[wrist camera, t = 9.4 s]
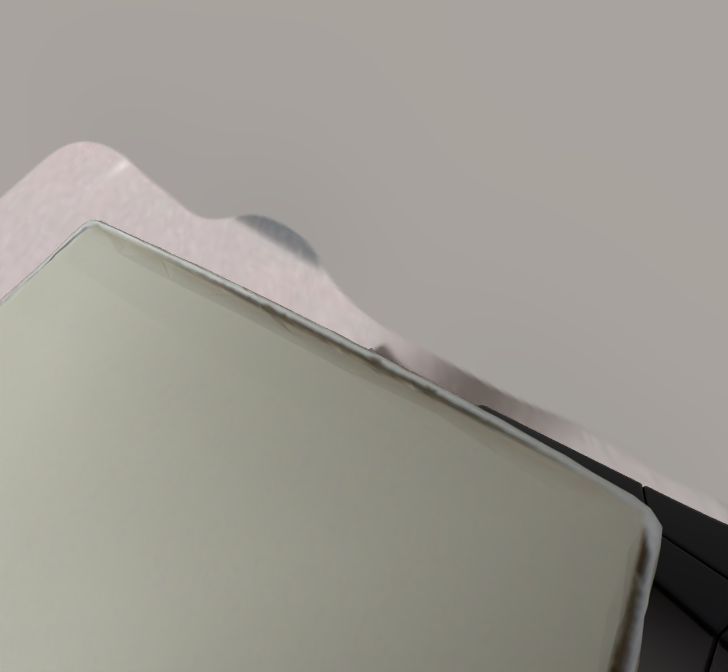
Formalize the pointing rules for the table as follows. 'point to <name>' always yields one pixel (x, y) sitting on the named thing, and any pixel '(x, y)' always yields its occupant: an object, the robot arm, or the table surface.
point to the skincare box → (279, 495)
